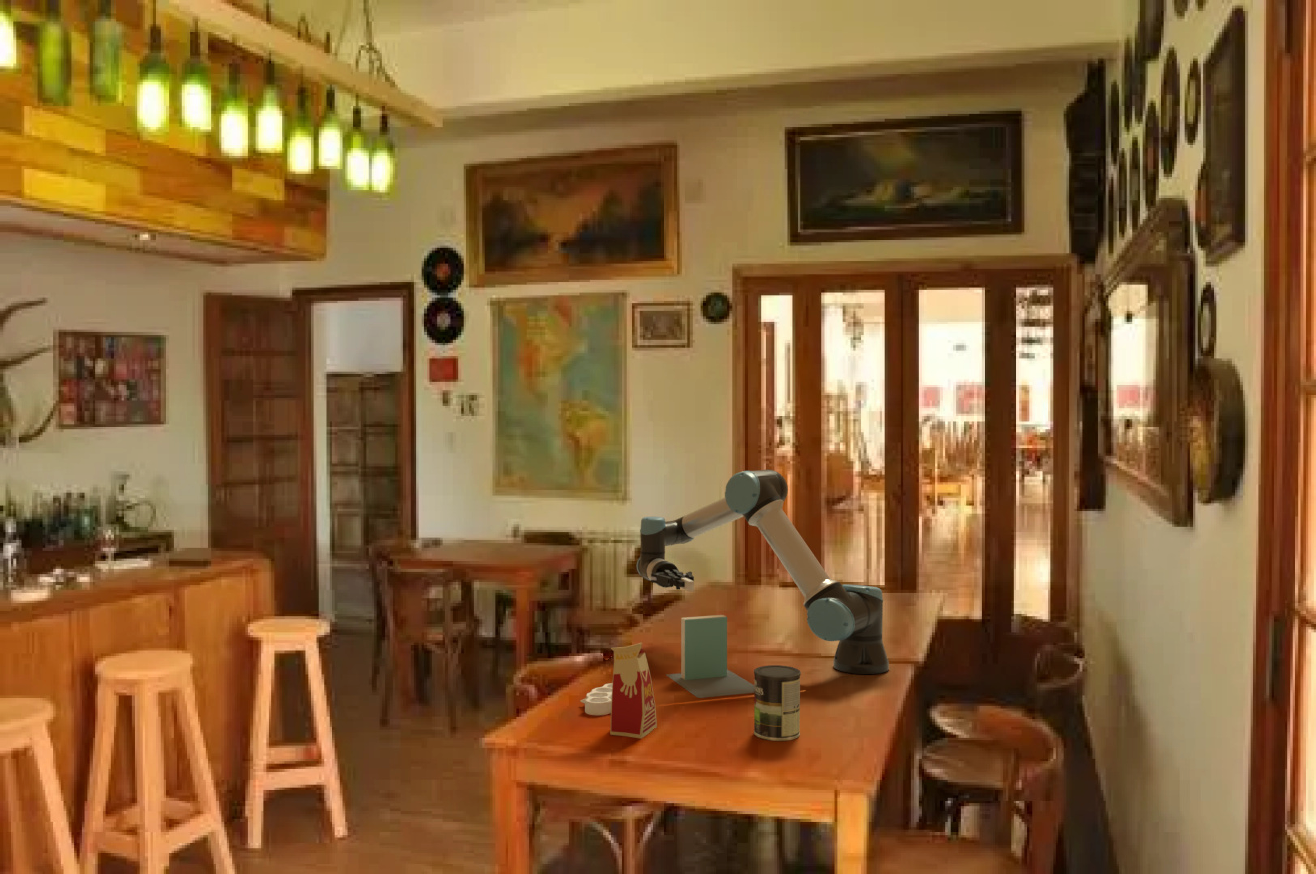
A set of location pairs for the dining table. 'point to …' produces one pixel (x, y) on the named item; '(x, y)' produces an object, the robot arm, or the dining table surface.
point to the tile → (703, 647)
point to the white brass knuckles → (599, 700)
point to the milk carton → (632, 694)
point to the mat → (715, 685)
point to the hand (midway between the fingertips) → (691, 586)
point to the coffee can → (777, 703)
